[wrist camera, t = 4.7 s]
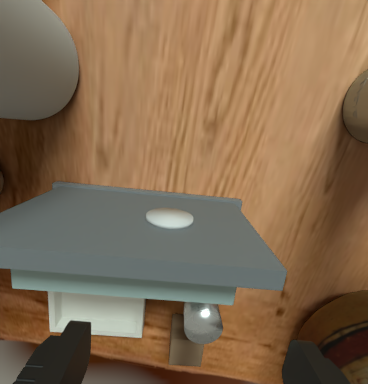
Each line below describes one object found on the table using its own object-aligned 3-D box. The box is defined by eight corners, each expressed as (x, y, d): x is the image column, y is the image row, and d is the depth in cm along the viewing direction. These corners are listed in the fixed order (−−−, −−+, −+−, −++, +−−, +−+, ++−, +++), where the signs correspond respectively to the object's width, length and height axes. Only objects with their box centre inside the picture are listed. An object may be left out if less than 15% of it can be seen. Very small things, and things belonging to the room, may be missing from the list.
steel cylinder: (214, 271, 33) (225, 314, 25) (210, 296, 34) (219, 345, 26) (184, 269, 33) (186, 311, 25) (181, 294, 34) (182, 342, 26)
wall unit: (240, 197, 30) (303, 266, 15) (231, 246, 32) (280, 353, 16) (57, 180, 29) (-84, 234, 14) (59, 230, 31) (-63, 329, 15)
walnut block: (201, 315, 35) (204, 341, 31) (198, 338, 36) (200, 366, 32) (172, 313, 35) (171, 339, 30) (170, 336, 36) (168, 364, 32)
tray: (149, 255, 32) (146, 265, 30) (144, 323, 35) (141, 337, 33) (56, 247, 31) (45, 256, 29) (59, 317, 34) (49, 331, 32)
